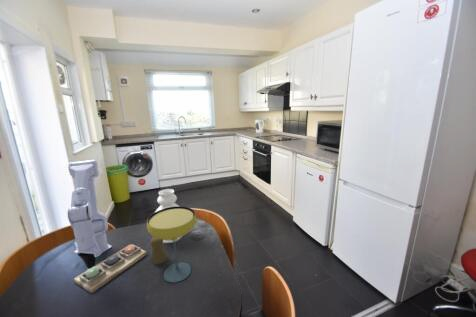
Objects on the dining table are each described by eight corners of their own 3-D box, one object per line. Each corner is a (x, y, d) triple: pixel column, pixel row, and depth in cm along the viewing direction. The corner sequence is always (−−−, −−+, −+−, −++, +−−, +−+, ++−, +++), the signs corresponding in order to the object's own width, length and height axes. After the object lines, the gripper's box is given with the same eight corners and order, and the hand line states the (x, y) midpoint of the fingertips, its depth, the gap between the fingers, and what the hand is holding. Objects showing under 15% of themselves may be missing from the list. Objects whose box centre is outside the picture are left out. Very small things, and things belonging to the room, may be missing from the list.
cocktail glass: (207, 261, 92) (203, 208, 86) (185, 295, 75) (178, 232, 69) (171, 254, 97) (166, 204, 92) (143, 284, 80) (135, 225, 75)
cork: (161, 265, 90) (158, 242, 88) (149, 263, 91) (145, 241, 89) (168, 255, 96) (166, 234, 94) (156, 254, 97) (154, 233, 95)
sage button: (83, 276, 82) (82, 272, 81) (95, 269, 85) (94, 265, 85) (90, 280, 80) (89, 276, 79) (101, 272, 83) (101, 268, 83)
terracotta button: (122, 253, 96) (122, 250, 95) (131, 248, 99) (131, 244, 99) (128, 256, 94) (128, 252, 93) (137, 251, 97) (137, 247, 97)
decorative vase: (183, 246, 103) (178, 198, 97) (147, 246, 103) (140, 199, 98) (191, 226, 120) (188, 185, 115) (160, 227, 120) (155, 185, 115)
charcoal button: (104, 263, 89) (103, 259, 88) (114, 257, 92) (114, 253, 92) (110, 267, 87) (110, 262, 86) (121, 260, 90) (120, 256, 90)
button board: (74, 281, 82) (73, 275, 82) (130, 247, 103) (129, 241, 102) (91, 293, 77) (90, 286, 76) (146, 254, 97) (146, 248, 97)
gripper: (62, 236, 79) (69, 267, 82) (83, 246, 72) (90, 280, 75) (83, 227, 85) (89, 256, 88) (104, 236, 78) (110, 267, 81)
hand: (91, 266), depth 82 cm, fingers closed
